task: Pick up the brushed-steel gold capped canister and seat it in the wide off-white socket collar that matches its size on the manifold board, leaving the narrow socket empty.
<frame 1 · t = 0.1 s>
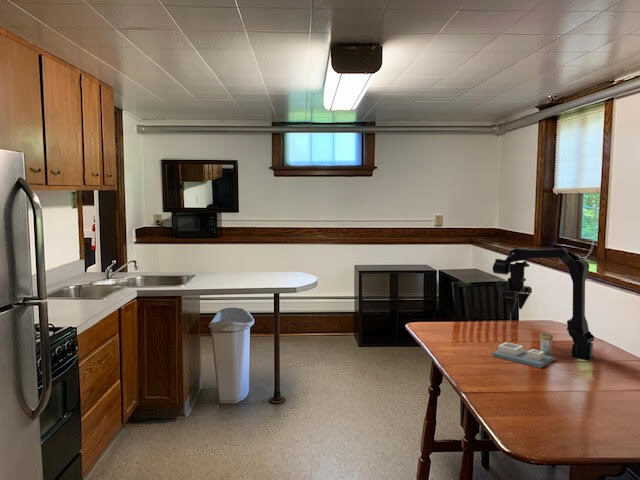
hand: (515, 310, 213), 14 cm above the table, fingers open, 9 cm apart
manifold board: (522, 358, 191), on the table
gold capped canister: (545, 353, 197), on the table
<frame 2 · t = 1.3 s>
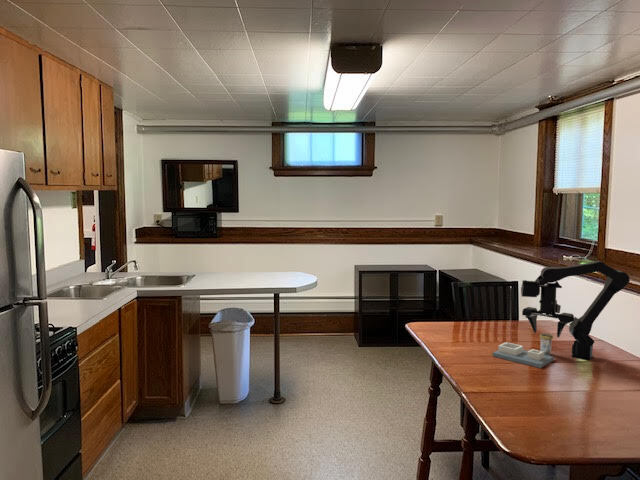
hand: (546, 335, 197), 8 cm above the table, fingers open, 9 cm apart
nothing on the table moved.
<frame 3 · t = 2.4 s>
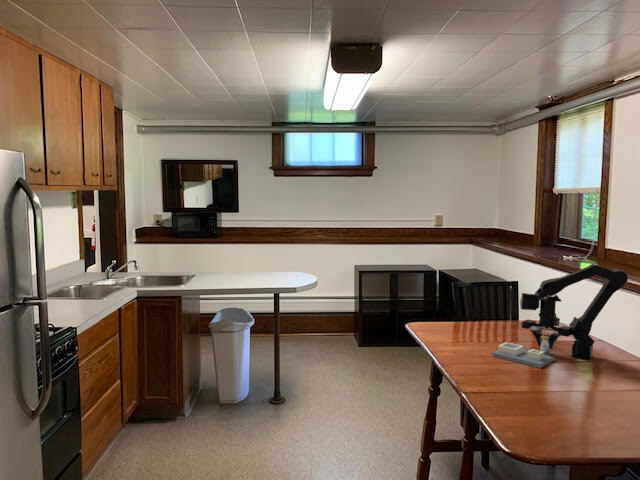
hand: (545, 347, 197), 2 cm above the table, fingers closed on gold capped canister, 4 cm apart
gold capped canister: (545, 353, 197), on the table, touching gripper
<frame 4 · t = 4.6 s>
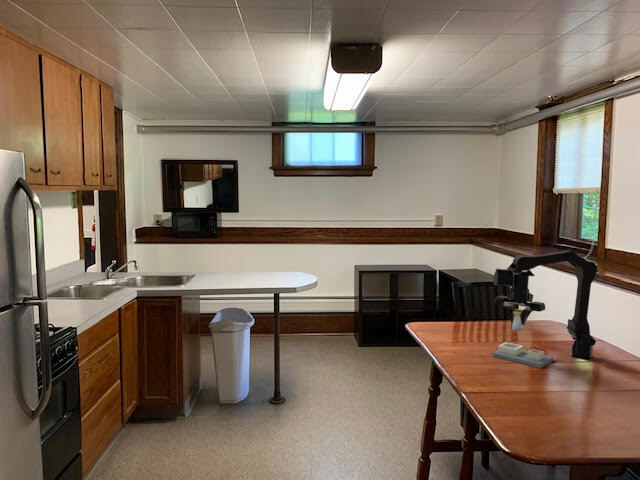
hand: (517, 323, 194), 13 cm above the table, fingers closed on gold capped canister, 4 cm apart
gold capped canister: (517, 329, 195), point 11 cm above the table, touching gripper
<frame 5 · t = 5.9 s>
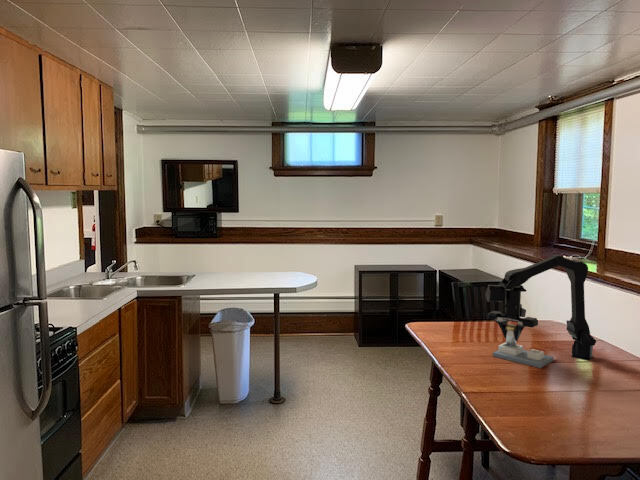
hand: (511, 339, 194), 7 cm above the table, fingers closed on gold capped canister, 4 cm apart
gold capped canister: (511, 345, 195), point 4 cm above the table, touching gripper
when the fingers open (5 cm above the table, at t = 7.0 s): gold capped canister drops 1 cm, resting on manifold board.
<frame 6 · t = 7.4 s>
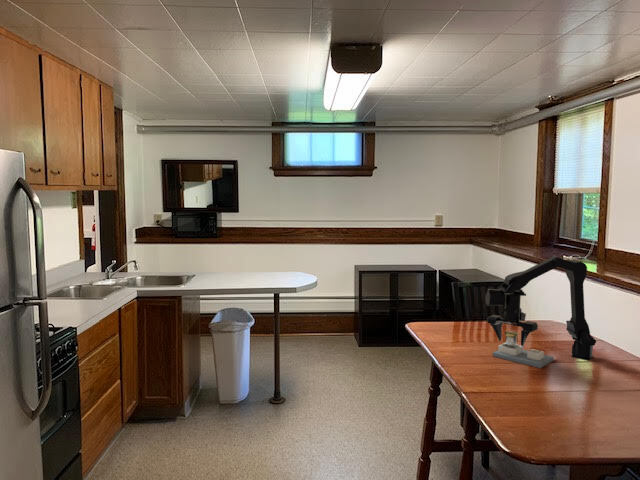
hand: (511, 343, 195), 5 cm above the table, fingers open, 9 cm apart
gold capped canister: (510, 351, 195), point 2 cm above the table, touching manifold board
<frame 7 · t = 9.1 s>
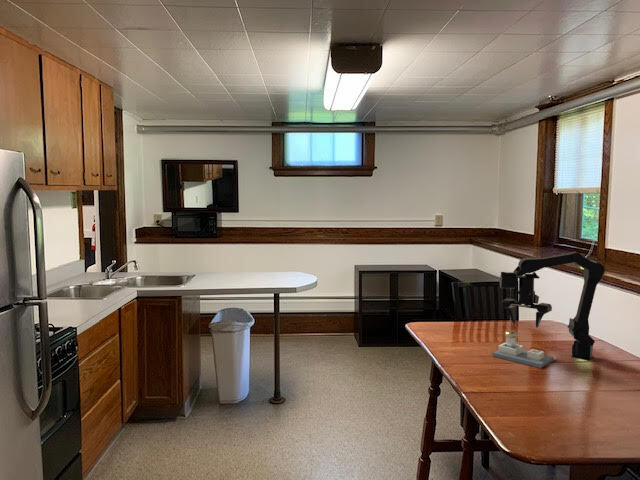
hand: (525, 325, 198), 11 cm above the table, fingers open, 9 cm apart
nothing on the table moved.
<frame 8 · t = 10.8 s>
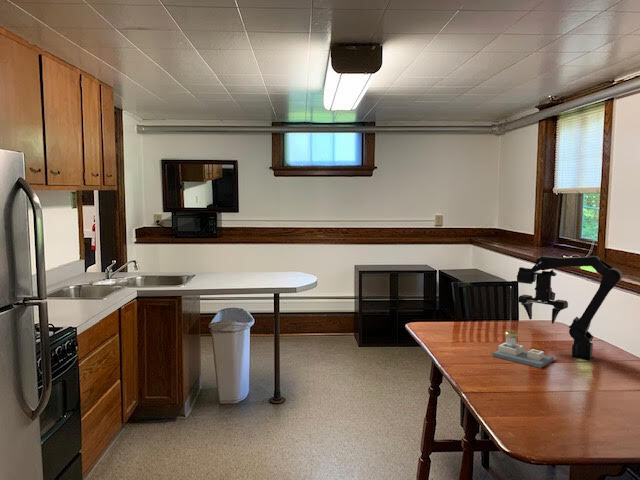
hand: (541, 321, 203), 12 cm above the table, fingers open, 9 cm apart
nothing on the table moved.
at the end: gold capped canister 0.0 cm from the target spot on the manifold board, point 1.5 cm above the manifold board's base; gold capped canister tilted 0°; the gripper is holding nothing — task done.
